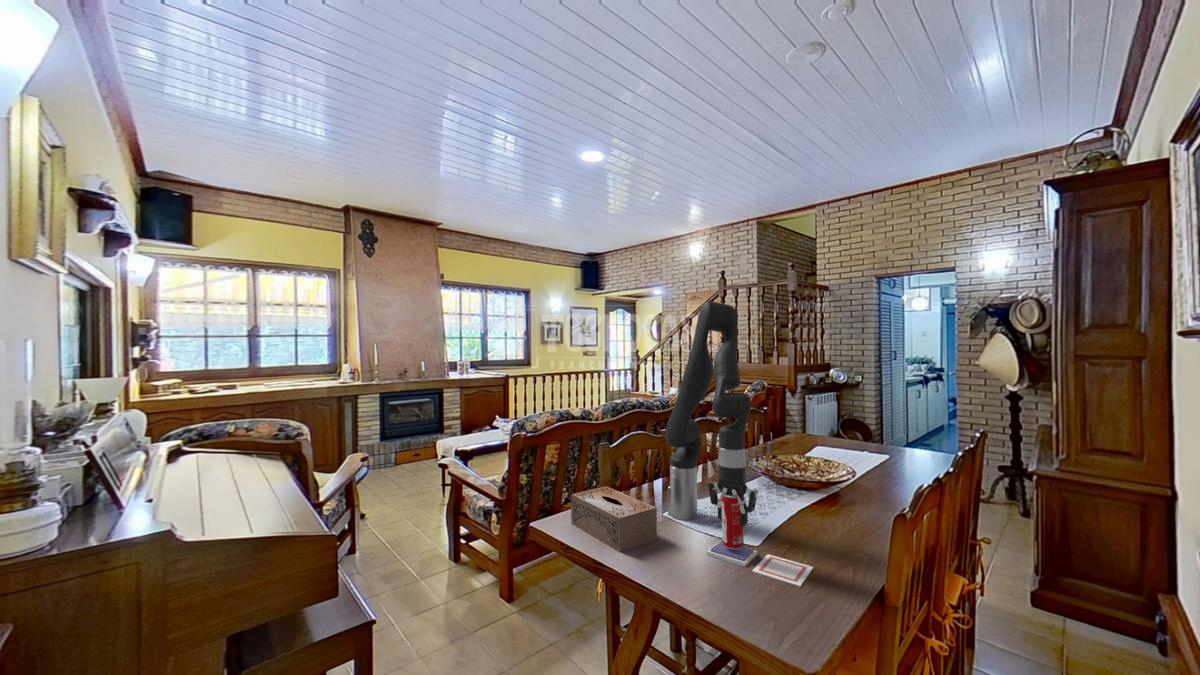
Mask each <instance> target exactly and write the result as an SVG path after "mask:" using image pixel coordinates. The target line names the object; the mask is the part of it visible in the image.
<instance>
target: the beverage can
mask: <svg viewBox="0 0 1200 675" xmlns="http://www.w3.org/2000/svg"><path fill="white" fill-rule="evenodd" d="M740 500H741V501H742V498H740ZM721 507H722V521H721V529H722V530H721V531H722V533H721V534H722V536H721V538H722V541H723V544H724V546H725V547H727V548H729V549H740V548H742V547H744V545H745V544H744V543H745V542H744V538H745V537H744V527H743V526H741V513H742V512H741V510H740V505H739V501H738V498H737V497H734V496H733V495H728V494H726V495H724V494H722V497H721Z"/></svg>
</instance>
